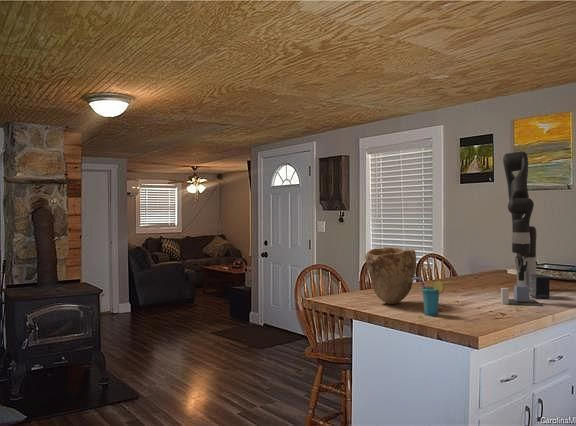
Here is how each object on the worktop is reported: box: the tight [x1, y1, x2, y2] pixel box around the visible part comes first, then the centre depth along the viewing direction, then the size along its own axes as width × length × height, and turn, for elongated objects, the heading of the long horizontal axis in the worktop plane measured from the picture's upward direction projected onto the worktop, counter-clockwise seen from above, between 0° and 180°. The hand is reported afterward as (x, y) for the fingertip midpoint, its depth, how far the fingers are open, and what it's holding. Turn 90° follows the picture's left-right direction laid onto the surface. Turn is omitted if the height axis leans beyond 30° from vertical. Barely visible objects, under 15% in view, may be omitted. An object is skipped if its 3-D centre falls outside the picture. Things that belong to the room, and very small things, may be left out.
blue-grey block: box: [513, 284, 530, 302], centre depth 229 cm, size 5×5×7 cm
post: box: [500, 287, 510, 306], centre depth 227 cm, size 3×3×7 cm
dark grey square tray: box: [508, 298, 544, 307], centre depth 229 cm, size 14×14×7 cm
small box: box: [529, 274, 550, 300], centre depth 242 cm, size 11×6×10 cm, turn 168°
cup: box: [412, 276, 445, 317], centre depth 206 cm, size 14×8×15 cm, turn 53°
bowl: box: [364, 246, 417, 305], centre depth 230 cm, size 22×22×25 cm
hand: (521, 280), depth 229 cm, fingers closed
